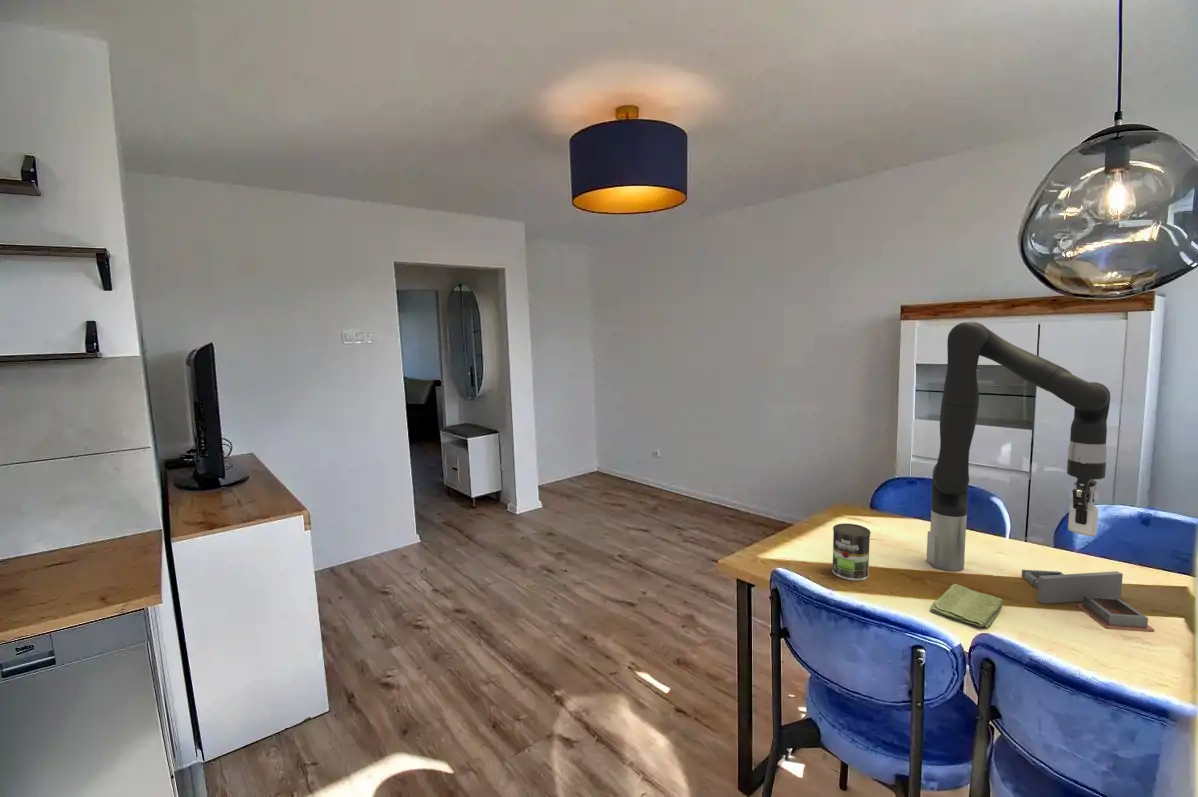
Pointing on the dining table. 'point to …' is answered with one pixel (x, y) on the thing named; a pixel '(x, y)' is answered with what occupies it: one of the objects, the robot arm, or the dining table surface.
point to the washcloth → (968, 606)
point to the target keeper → (1114, 613)
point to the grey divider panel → (1079, 586)
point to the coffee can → (851, 551)
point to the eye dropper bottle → (1090, 526)
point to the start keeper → (1037, 575)
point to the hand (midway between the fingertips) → (1082, 521)
